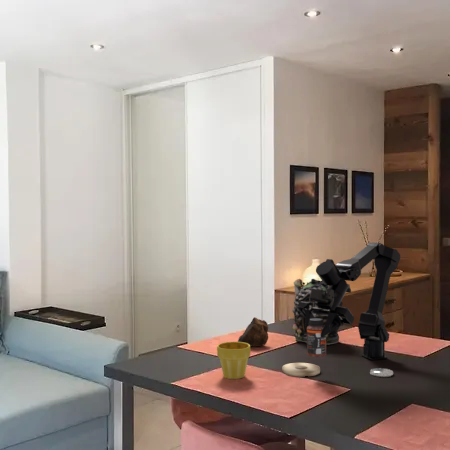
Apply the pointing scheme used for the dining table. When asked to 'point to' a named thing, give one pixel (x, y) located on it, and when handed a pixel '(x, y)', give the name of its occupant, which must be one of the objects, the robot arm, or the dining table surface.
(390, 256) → the robot arm
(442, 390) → the dining table surface
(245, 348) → the plant pot
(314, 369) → the coaster
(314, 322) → the supplement bottle
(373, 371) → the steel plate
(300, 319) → the decorative house
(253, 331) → the decorative rock
